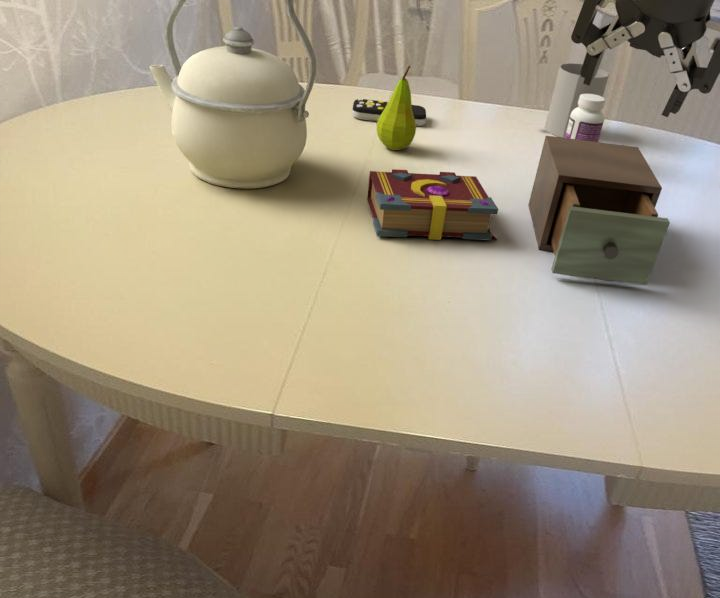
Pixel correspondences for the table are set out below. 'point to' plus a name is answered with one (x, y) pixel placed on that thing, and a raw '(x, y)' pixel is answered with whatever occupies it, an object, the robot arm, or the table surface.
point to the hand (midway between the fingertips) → (628, 94)
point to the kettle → (237, 108)
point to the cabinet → (584, 176)
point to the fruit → (397, 118)
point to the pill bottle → (586, 118)
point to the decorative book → (429, 205)
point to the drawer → (606, 233)
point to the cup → (570, 95)
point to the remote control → (375, 108)
